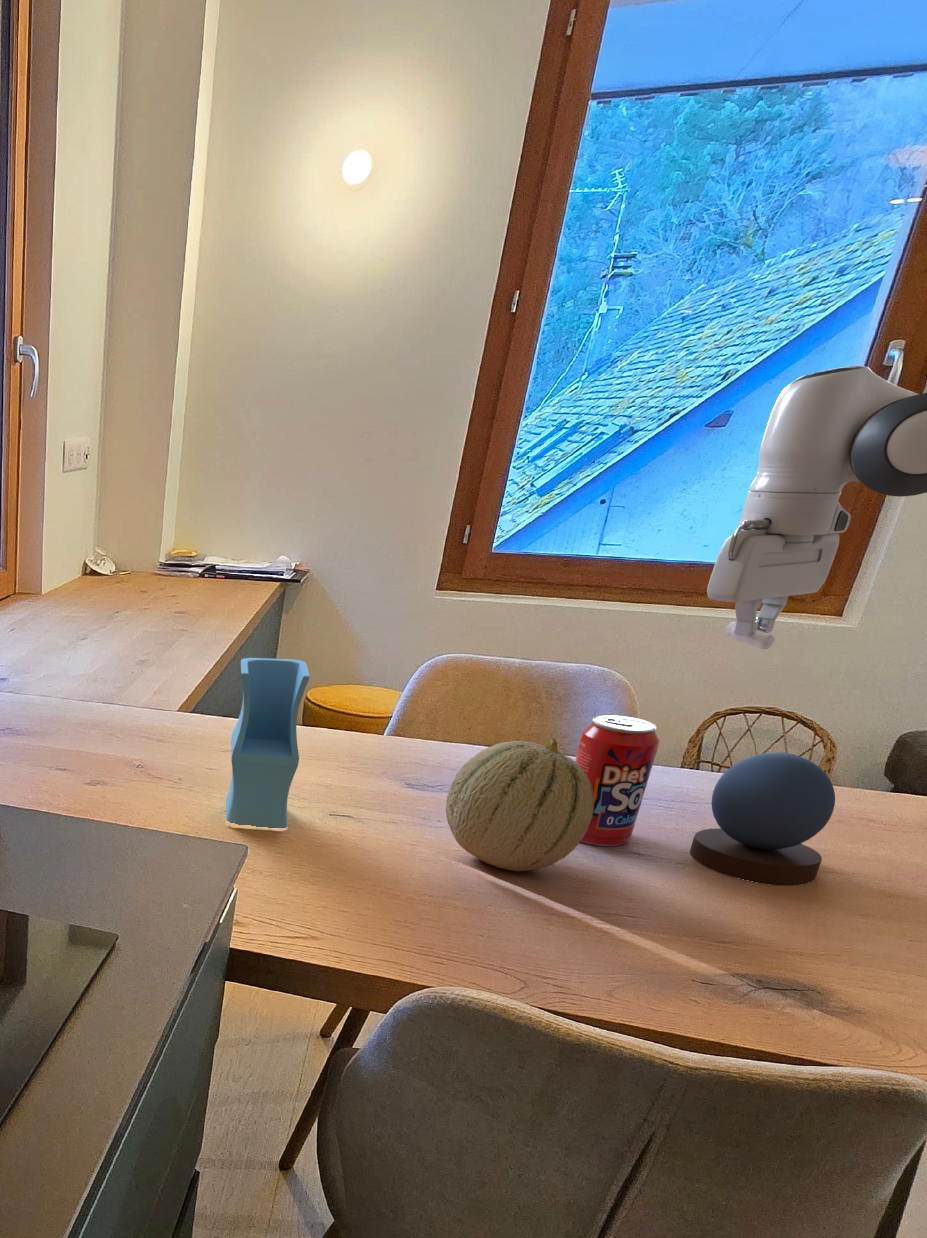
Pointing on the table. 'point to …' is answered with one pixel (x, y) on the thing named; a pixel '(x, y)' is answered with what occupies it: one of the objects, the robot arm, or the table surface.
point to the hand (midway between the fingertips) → (752, 634)
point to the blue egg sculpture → (767, 820)
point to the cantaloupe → (520, 805)
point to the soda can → (616, 774)
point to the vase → (265, 741)
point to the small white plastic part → (752, 637)
